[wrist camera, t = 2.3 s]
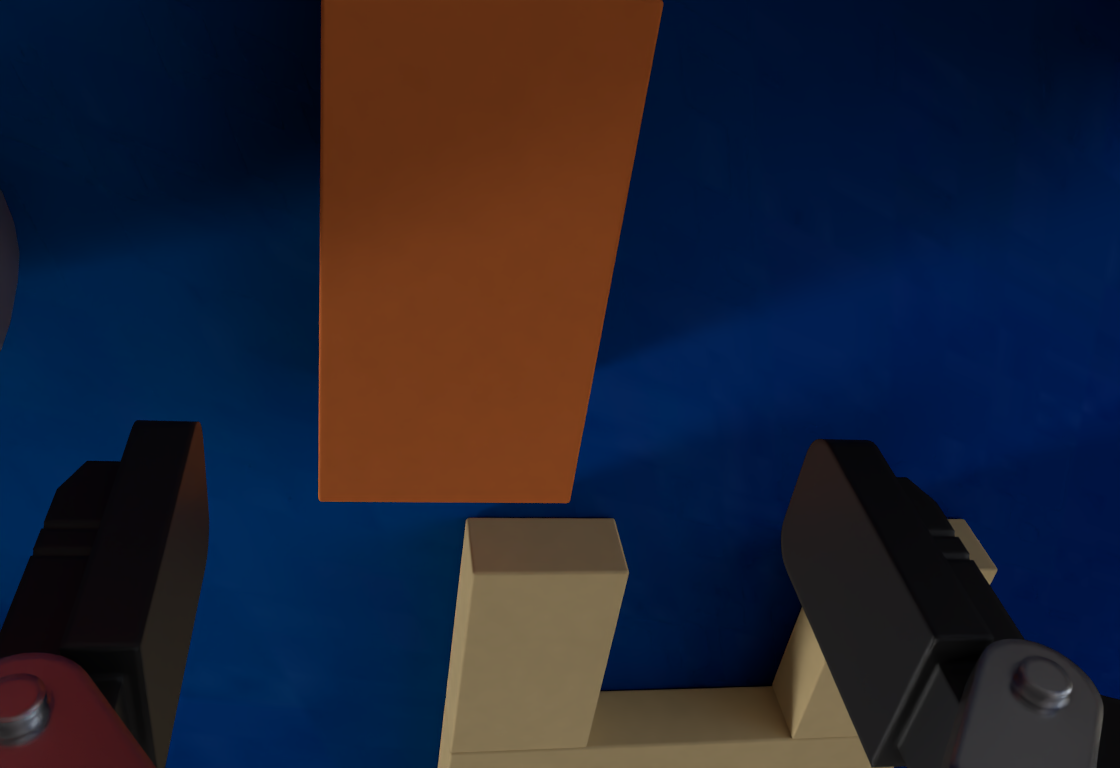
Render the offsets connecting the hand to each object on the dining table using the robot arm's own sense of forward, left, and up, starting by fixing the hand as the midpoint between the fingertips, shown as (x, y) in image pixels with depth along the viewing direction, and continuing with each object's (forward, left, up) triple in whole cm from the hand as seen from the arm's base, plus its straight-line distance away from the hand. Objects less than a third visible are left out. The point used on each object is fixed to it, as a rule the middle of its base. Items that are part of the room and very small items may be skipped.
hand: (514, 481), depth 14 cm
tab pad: (0, 0, -9) cm, 9 cm away
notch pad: (+8, -16, -9) cm, 20 cm away
